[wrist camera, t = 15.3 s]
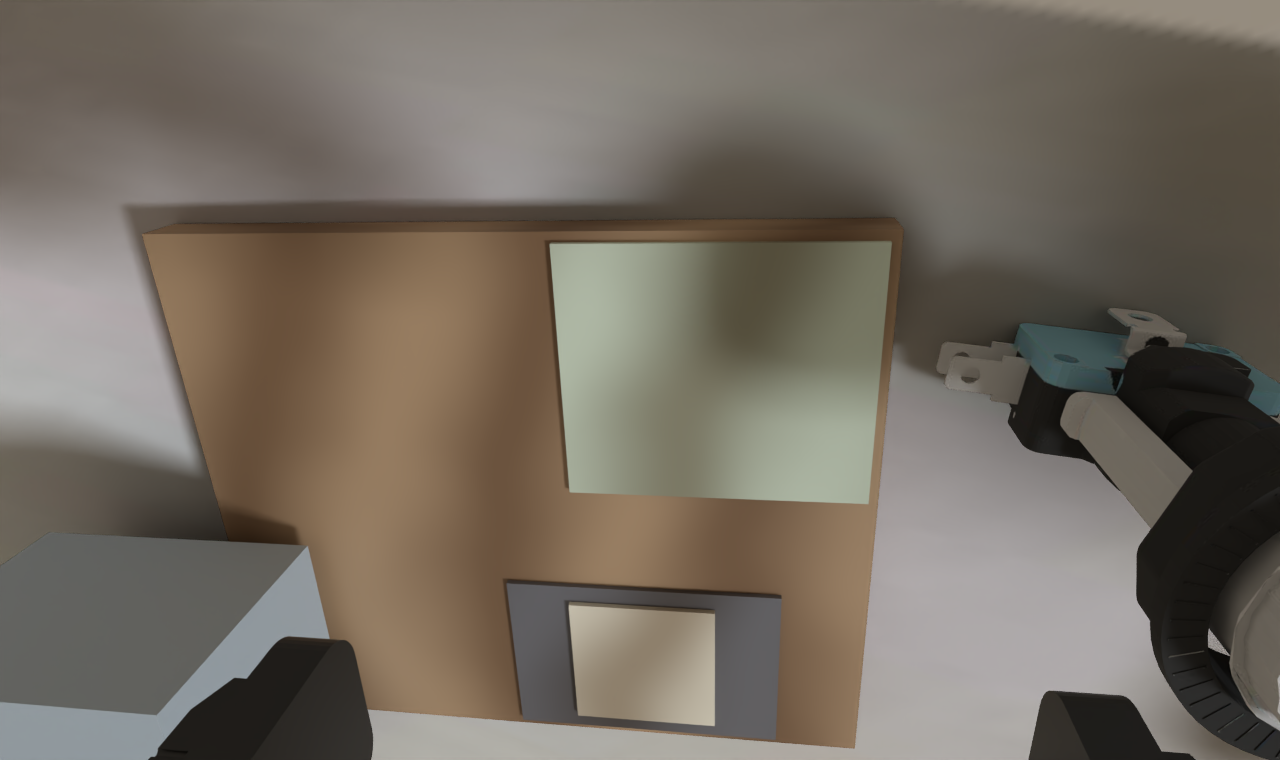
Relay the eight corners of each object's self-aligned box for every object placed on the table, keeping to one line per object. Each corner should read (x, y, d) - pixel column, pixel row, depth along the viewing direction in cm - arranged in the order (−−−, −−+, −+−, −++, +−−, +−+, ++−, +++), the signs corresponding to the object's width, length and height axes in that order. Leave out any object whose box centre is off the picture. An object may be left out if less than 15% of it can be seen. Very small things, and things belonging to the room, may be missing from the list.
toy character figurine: (909, 442, 20) (1037, 774, 11) (963, 235, 18) (1178, 437, 9) (1183, 480, 20) (1558, 865, 10) (1272, 272, 17) (1844, 528, 8)
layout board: (894, 217, 18) (906, 232, 17) (849, 715, 24) (855, 757, 22) (174, 223, 20) (132, 236, 19) (293, 674, 26) (268, 709, 25)
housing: (307, 545, 22) (120, 755, 15) (358, 759, 25) (220, 1007, 18) (48, 532, 23) (-227, 723, 16) (128, 738, 26) (-78, 967, 19)
